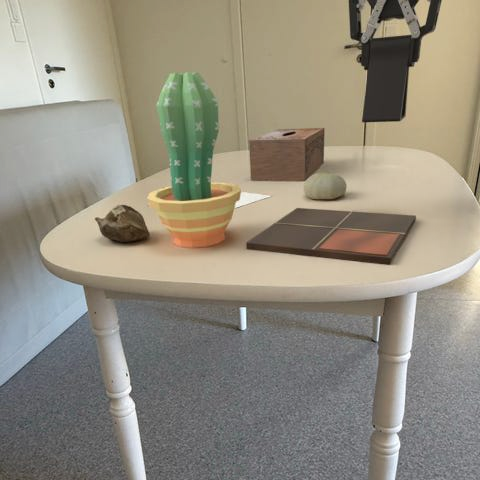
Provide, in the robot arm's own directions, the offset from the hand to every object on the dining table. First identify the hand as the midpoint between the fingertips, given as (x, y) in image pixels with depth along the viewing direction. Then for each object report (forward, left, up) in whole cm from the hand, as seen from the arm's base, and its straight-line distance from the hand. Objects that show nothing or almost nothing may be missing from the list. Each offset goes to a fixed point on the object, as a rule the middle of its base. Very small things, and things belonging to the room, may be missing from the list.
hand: (388, 68), depth 72 cm
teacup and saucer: (+38, -2, -24) cm, 45 cm away
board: (+4, +14, -24) cm, 28 cm away
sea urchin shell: (+14, -11, -24) cm, 29 cm away
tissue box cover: (+33, -38, -24) cm, 55 cm away
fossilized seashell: (+38, +27, -24) cm, 52 cm away
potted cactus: (+25, +23, -24) cm, 42 cm away
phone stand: (0, 0, -8) cm, 8 cm away
